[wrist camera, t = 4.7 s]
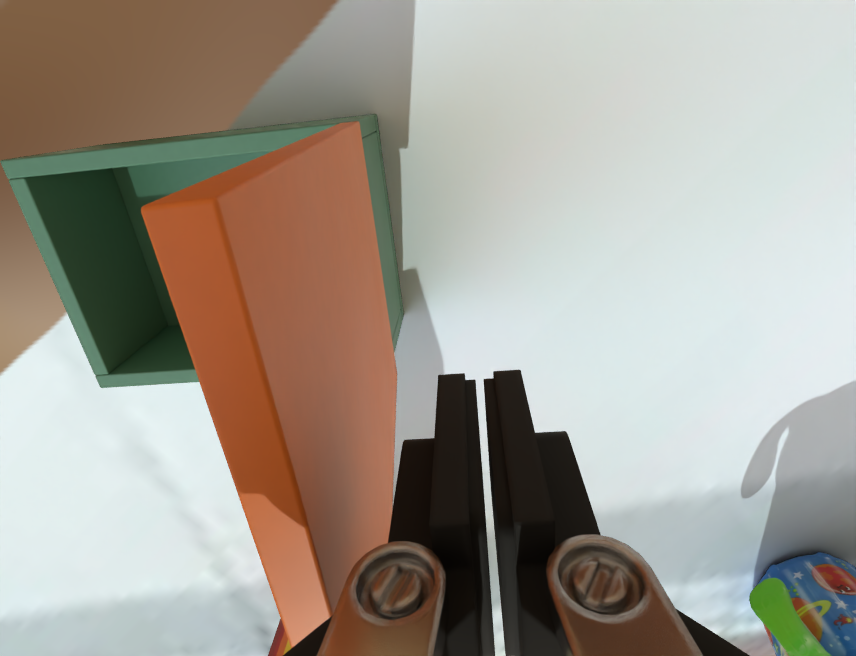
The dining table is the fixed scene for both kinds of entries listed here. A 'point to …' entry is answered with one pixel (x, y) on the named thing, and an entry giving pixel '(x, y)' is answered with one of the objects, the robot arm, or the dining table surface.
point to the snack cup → (808, 606)
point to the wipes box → (130, 243)
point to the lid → (291, 355)
